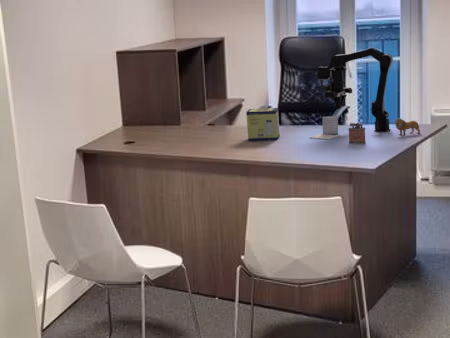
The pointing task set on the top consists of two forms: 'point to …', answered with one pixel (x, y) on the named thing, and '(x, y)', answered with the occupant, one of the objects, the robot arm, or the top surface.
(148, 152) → the top surface
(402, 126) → the lion figurine
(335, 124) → the medicine box
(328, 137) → the felt pad
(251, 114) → the protein box
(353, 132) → the lighter
